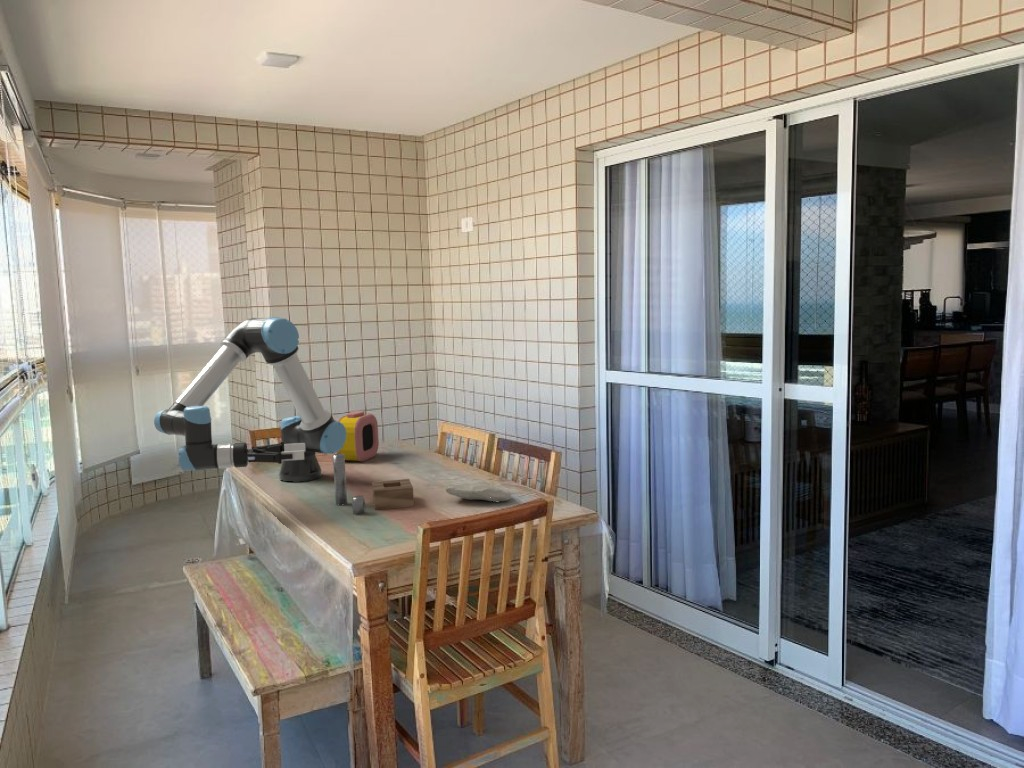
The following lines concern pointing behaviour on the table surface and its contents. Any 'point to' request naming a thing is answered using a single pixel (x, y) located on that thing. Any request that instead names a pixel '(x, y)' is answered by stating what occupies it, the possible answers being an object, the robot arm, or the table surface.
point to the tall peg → (340, 479)
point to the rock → (478, 491)
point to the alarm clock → (359, 436)
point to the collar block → (392, 494)
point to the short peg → (358, 505)
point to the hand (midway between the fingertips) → (304, 450)
